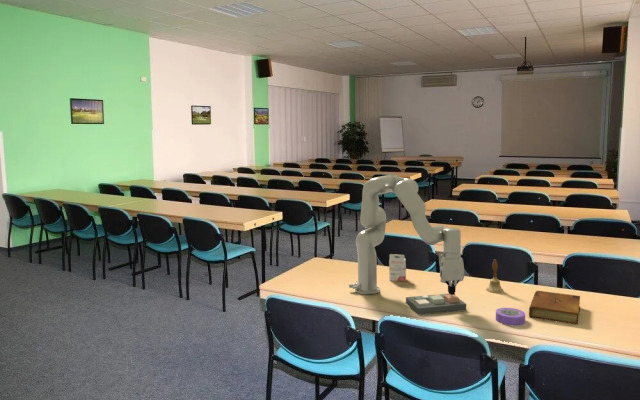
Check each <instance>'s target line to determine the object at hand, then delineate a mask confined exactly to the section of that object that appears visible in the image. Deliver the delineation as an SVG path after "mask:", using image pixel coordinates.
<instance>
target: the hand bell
mask: <svg viewBox="0 0 640 400" xmlns="http://www.w3.org/2000/svg"><path fill="white" fill-rule="evenodd" d="M491 266H492V267H491V268H492V271H493V276H492V278H491V279H490V280H489V285H488V286H487V287H486V289H485V290H486V291H487V292H488V293H492V294H501V293H503V292H504V288H503V287H502V286H501V281H500V279H498V276H497V274H498V268H499V264H498V260H497V259H495V258H494V259H493V261H492V264H491Z"/></svg>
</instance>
